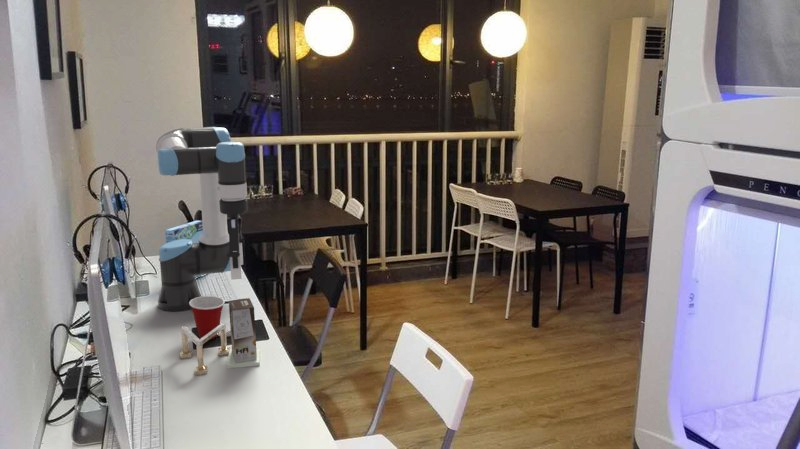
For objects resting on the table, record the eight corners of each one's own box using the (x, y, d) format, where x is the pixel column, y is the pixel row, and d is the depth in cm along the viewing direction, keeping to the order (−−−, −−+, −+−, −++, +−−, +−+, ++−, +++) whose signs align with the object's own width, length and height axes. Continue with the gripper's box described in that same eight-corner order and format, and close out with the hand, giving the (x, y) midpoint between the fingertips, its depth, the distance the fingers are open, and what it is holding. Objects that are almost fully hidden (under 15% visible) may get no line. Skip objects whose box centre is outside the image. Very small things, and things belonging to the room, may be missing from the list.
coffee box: (257, 360, 184) (254, 307, 180) (235, 363, 182) (231, 310, 178) (252, 347, 192) (249, 297, 189) (230, 351, 190) (227, 300, 186)
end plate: (229, 353, 191) (229, 350, 190) (260, 351, 192) (259, 348, 192) (227, 368, 181) (227, 365, 181) (259, 365, 183) (259, 362, 183)
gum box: (178, 287, 252) (174, 231, 246) (168, 285, 253) (163, 230, 248) (210, 273, 269) (206, 220, 264) (200, 272, 271) (196, 220, 266)
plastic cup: (217, 344, 197) (214, 307, 195) (185, 341, 199) (182, 305, 197) (232, 331, 208) (230, 296, 205) (202, 328, 210) (199, 294, 207)
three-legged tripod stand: (181, 354, 190) (178, 325, 188) (230, 350, 193) (228, 321, 191) (174, 376, 176) (171, 345, 174) (227, 372, 179) (225, 341, 177)
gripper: (222, 191, 188) (226, 260, 193) (215, 207, 164) (221, 286, 169) (248, 190, 189) (251, 258, 194) (245, 206, 165) (250, 284, 170)
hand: (237, 271), depth 181 cm, fingers open, 13 cm apart
